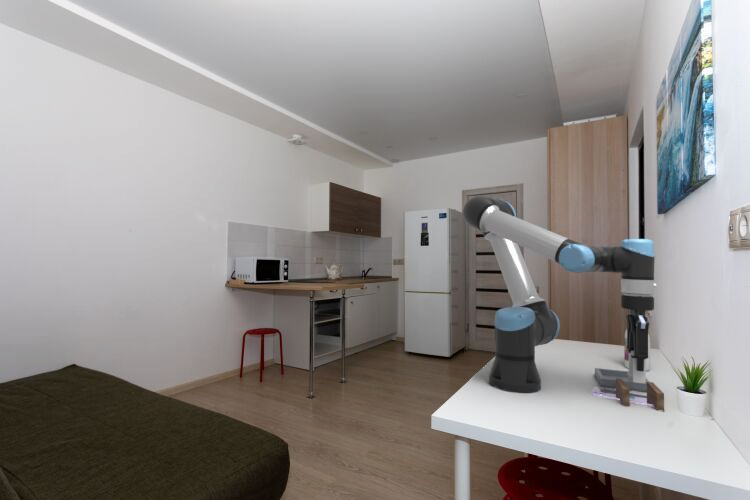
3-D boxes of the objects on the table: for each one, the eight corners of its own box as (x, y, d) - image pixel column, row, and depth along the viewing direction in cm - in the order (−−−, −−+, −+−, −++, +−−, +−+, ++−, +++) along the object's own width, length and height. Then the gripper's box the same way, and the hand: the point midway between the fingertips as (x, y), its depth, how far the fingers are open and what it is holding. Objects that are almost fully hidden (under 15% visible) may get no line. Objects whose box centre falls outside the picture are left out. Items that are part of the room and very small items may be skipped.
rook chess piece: (649, 384, 101) (649, 354, 101) (630, 382, 102) (631, 353, 102) (641, 379, 105) (641, 350, 106) (623, 377, 106) (623, 349, 107)
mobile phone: (655, 404, 100) (590, 392, 109) (655, 408, 100) (590, 396, 108) (654, 396, 106) (593, 385, 115) (654, 400, 106) (593, 389, 115)
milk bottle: (649, 367, 138) (648, 313, 139) (651, 372, 131) (650, 315, 132) (624, 364, 142) (623, 311, 143) (624, 369, 136) (624, 313, 136)
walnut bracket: (623, 405, 100) (622, 388, 101) (615, 393, 110) (615, 378, 110) (664, 411, 97) (664, 393, 97) (653, 398, 106) (652, 382, 106)
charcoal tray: (600, 386, 116) (600, 378, 116) (594, 375, 128) (594, 367, 128) (651, 392, 111) (651, 384, 111) (640, 380, 123) (640, 372, 123)
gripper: (663, 298, 95) (663, 392, 94) (645, 293, 111) (644, 373, 110) (628, 296, 98) (627, 387, 97) (615, 291, 114) (614, 369, 113)
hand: (636, 379), depth 104 cm, fingers closed on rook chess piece, 4 cm apart
